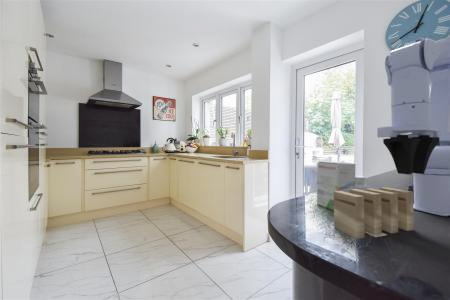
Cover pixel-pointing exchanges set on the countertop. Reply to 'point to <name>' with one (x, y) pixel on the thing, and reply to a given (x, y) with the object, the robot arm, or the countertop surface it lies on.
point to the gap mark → (376, 235)
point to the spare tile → (371, 211)
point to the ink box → (333, 181)
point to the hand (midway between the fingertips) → (410, 173)
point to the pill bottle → (360, 183)
